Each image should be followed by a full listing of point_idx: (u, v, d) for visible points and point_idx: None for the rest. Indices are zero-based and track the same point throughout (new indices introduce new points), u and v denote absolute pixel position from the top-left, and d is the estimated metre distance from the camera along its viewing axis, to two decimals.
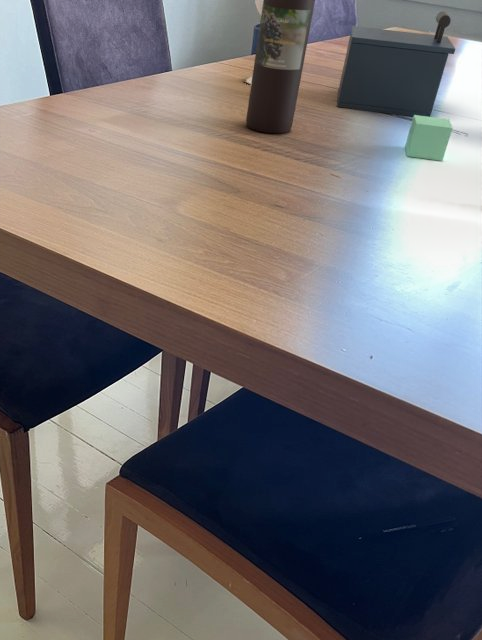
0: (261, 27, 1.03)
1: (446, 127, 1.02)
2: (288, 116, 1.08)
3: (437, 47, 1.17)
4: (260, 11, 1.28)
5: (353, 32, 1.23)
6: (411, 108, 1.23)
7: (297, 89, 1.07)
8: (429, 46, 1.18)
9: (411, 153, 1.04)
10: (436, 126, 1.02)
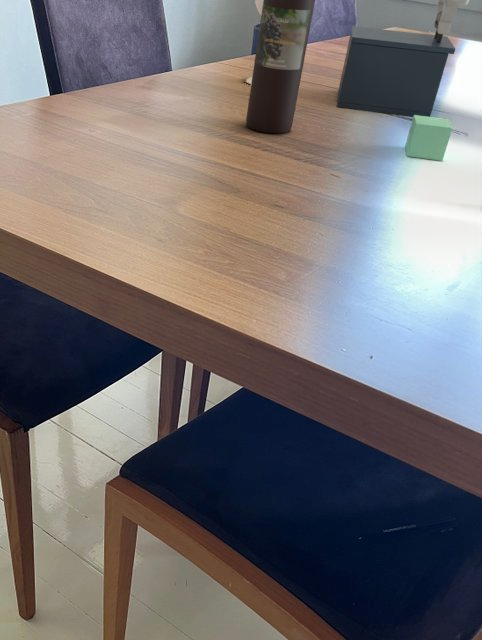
0: (261, 27, 1.03)
1: (446, 127, 1.02)
2: (288, 116, 1.08)
3: (437, 47, 1.17)
4: (260, 11, 1.28)
5: (353, 32, 1.23)
6: (411, 108, 1.23)
7: (297, 89, 1.07)
8: (429, 46, 1.18)
9: (411, 153, 1.04)
10: (436, 126, 1.02)
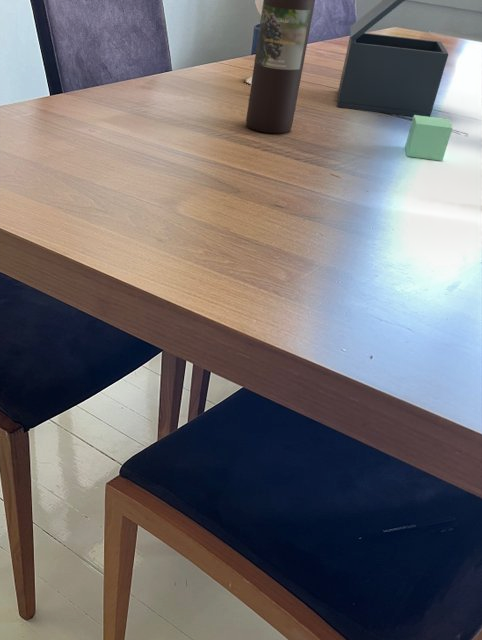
0: (261, 27, 1.03)
1: (446, 127, 1.02)
2: (288, 116, 1.08)
3: None
4: (260, 11, 1.28)
5: (351, 32, 1.23)
6: (411, 108, 1.23)
7: (297, 89, 1.07)
8: None
9: (411, 153, 1.04)
10: (436, 126, 1.02)
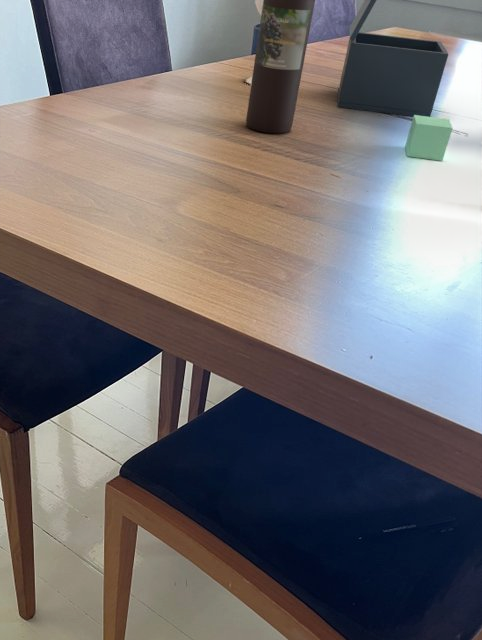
0: (261, 27, 1.03)
1: (446, 127, 1.02)
2: (288, 116, 1.08)
3: None
4: (260, 11, 1.28)
5: (350, 32, 1.23)
6: (411, 108, 1.23)
7: (297, 89, 1.07)
8: None
9: (411, 153, 1.04)
10: (436, 126, 1.02)
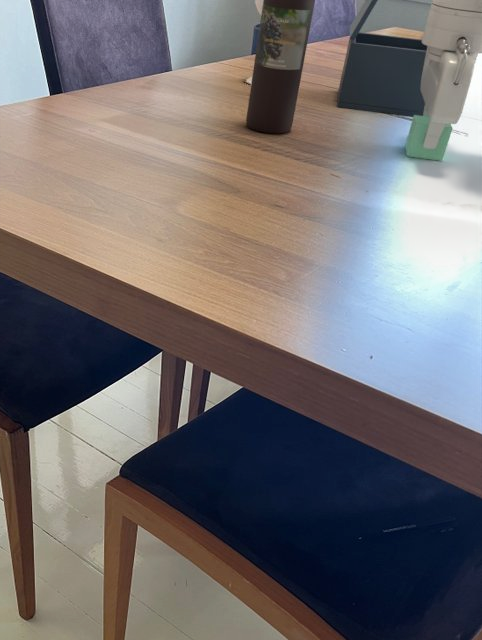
0: (261, 27, 1.03)
1: (446, 127, 1.02)
2: (288, 116, 1.08)
3: None
4: (260, 11, 1.28)
5: (350, 32, 1.23)
6: (411, 108, 1.23)
7: (297, 89, 1.07)
8: None
9: (411, 153, 1.04)
10: None
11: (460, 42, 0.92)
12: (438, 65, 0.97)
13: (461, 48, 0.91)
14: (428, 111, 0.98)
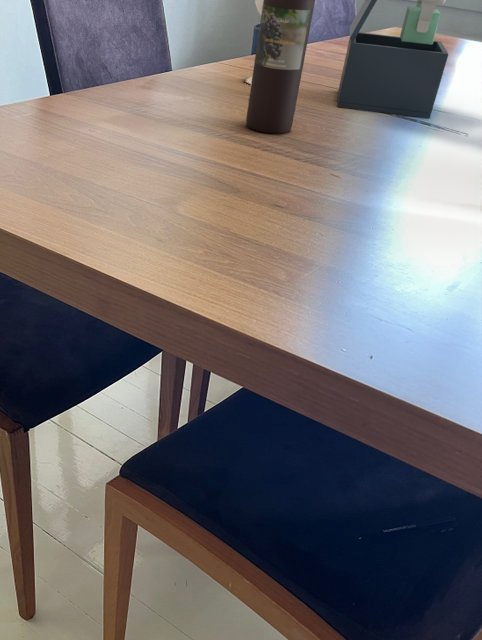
0: (261, 27, 1.03)
1: (435, 13, 1.18)
2: (288, 116, 1.08)
3: None
4: (260, 11, 1.28)
5: (350, 32, 1.23)
6: (411, 108, 1.23)
7: (297, 89, 1.07)
8: None
9: (405, 38, 1.21)
10: None
11: None
12: None
13: None
14: None
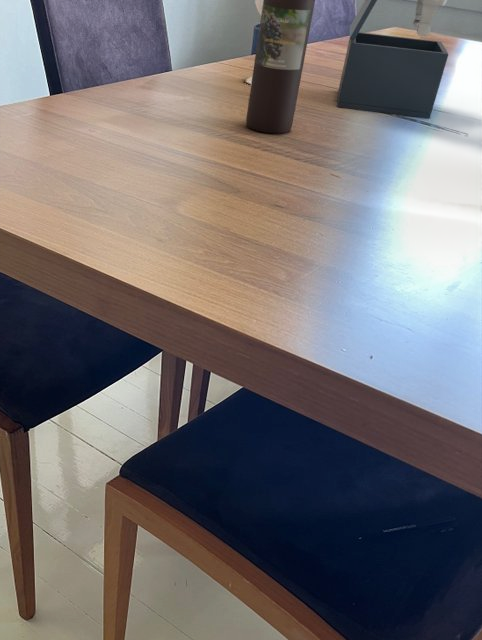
0: (261, 27, 1.03)
1: None
2: (288, 116, 1.08)
3: None
4: (260, 11, 1.28)
5: (350, 32, 1.23)
6: (411, 108, 1.23)
7: (297, 89, 1.07)
8: None
9: None
10: None
11: None
12: None
13: None
14: None
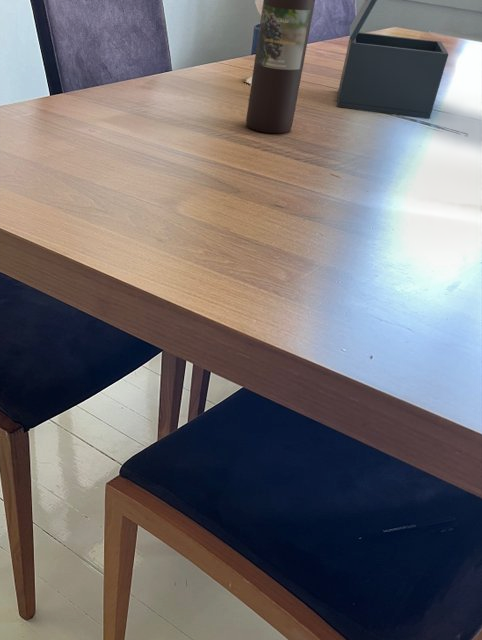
0: (261, 27, 1.03)
1: None
2: (288, 116, 1.08)
3: None
4: (260, 11, 1.28)
5: (350, 32, 1.23)
6: (411, 108, 1.23)
7: (297, 89, 1.07)
8: None
9: None
10: None
11: None
12: None
13: None
14: None
